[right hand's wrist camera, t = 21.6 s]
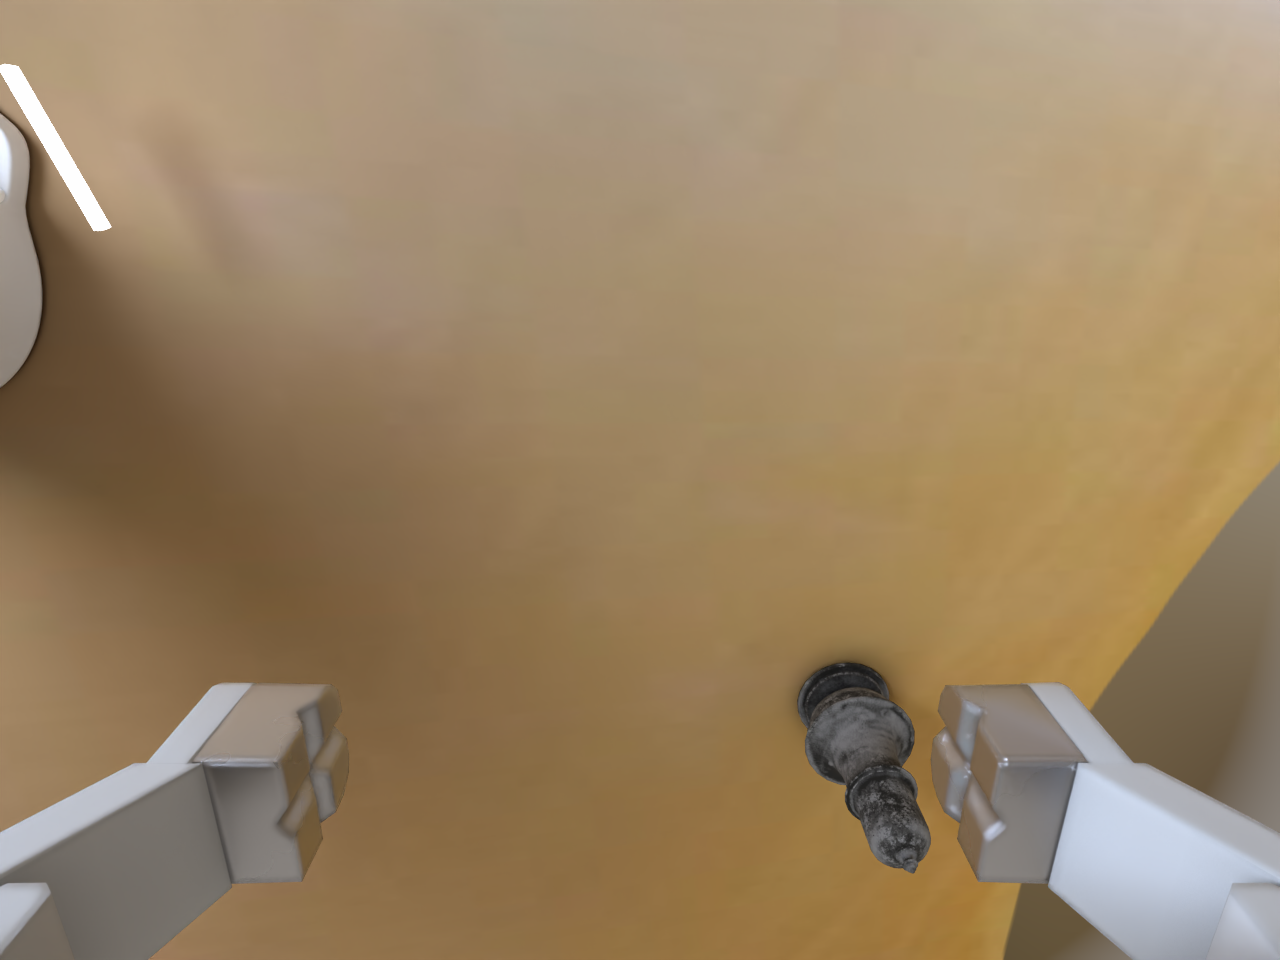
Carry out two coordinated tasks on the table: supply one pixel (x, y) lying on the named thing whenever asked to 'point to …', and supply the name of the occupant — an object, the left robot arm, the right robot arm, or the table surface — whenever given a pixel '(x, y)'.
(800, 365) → the table surface
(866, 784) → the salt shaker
